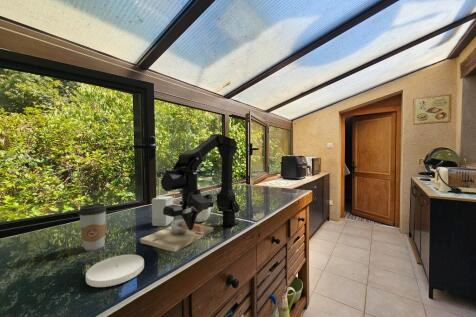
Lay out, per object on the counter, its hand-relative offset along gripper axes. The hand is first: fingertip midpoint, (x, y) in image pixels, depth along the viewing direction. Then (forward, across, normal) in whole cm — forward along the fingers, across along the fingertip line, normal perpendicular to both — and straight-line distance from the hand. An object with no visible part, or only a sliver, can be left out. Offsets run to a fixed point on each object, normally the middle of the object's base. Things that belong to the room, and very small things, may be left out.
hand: (190, 229), depth 79 cm
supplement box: (+5, +8, +30) cm, 32 cm away
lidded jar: (+5, +22, +20) cm, 30 cm away
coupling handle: (+3, +3, +6) cm, 7 cm away
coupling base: (+5, +2, +10) cm, 11 cm away
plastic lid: (+6, -25, +1) cm, 26 cm away
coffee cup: (+6, -22, +27) cm, 36 cm away
